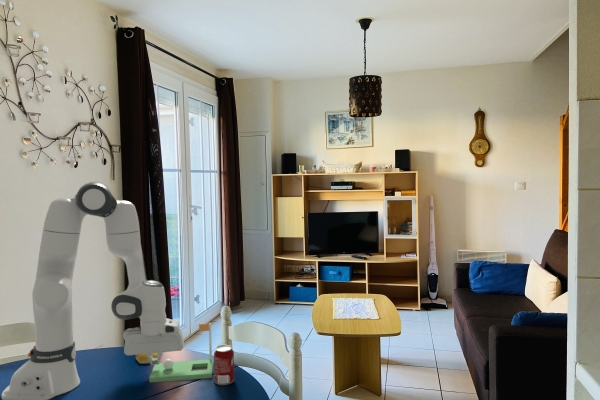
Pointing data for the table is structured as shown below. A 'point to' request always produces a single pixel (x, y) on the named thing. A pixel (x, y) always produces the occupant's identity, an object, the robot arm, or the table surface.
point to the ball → (168, 364)
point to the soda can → (224, 365)
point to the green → (186, 366)
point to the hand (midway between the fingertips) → (155, 364)
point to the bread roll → (145, 358)
